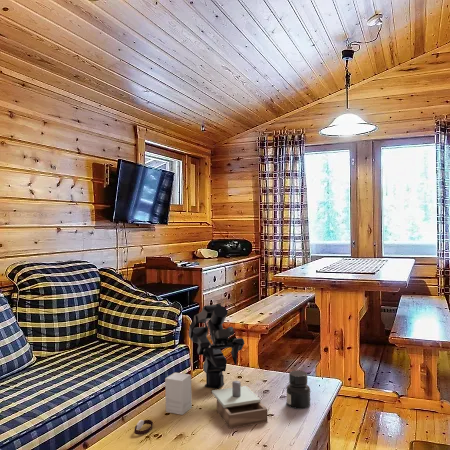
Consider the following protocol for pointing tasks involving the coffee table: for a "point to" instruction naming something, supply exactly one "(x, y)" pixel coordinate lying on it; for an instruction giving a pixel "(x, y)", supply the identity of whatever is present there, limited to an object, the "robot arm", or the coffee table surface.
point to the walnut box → (243, 414)
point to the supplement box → (178, 393)
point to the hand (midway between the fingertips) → (226, 365)
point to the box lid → (235, 395)
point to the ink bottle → (298, 390)
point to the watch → (141, 426)
